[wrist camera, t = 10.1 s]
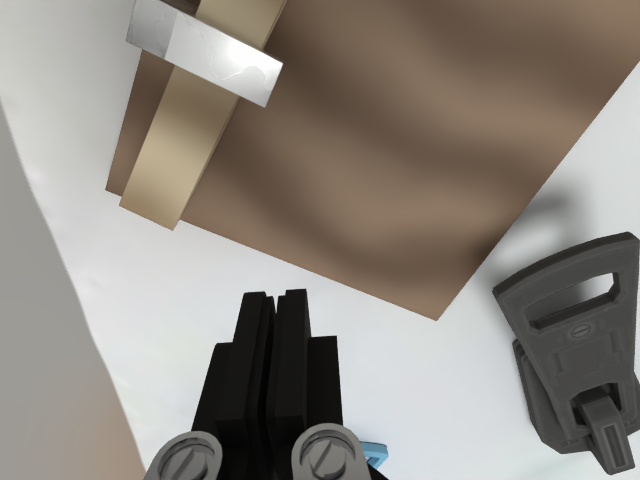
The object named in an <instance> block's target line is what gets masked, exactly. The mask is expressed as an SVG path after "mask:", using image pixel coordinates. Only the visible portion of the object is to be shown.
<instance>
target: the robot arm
mask: <svg viewBox="0 0 640 480" xmlns="http://www.w3.org/2000/svg"><path fill="white" fill-rule="evenodd" d="M277 479H278V480H389V479H387V478H386V477H385V476H384V475H382V474H381V473H380V472H379V471H377V470H376V469H375V468H374V467H372V466H371V465H370V464H369V463H367V462H366V459H365V455H364V452H363V448H362V446H361V443H360V441H359V439H358V438H357V437H356V435H355V434H354V433H353V432H352V431H351V430H349V429H347V428H345V427H344V426H343V417H342V404H341V390H340V376H339V362H338V348H337V336H322V337H311V328H310V319H309V309H308V300H307V291H306V289H294V290H286V293H285V295H283V296H278V303H277V312H276V310H275V304H274V298H273V296H268V297H266V293H265V291H263V292H248V293H244V295H243V299H242V303H241V308H240V312H239V316H238V321H237V325H236V329H235V334H234V338H233V342H228V343H217V344H216V345H215V348H214V350H213V354H212V358H211V361H210V365H209V368H208V372H207V375H206V379H205V383H204V386H203V390H202V393H201V397H200V400H199V404H198V408H197V411H196V415H195V418H194V422H193V425H192V429H191V432H187V433H184V434H181V435H178V436H176V437H175V438H173V439H171V440H170V441H168V442H167V443H166V444H165V445H164V446H163V447H162V448H161V449H160V450H159V451H158V453H157V454H156V456H155V457H154V459H153V461H152V463H151V465H150V467H149V469H148V471H147V473H146V475H145V477H144V479H143V480H277Z"/></svg>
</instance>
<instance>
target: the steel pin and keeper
mask: <svg viewBox="0 0 640 480" xmlns="http://www.w3.org/2000/svg"><path fill="white" fill-rule="evenodd" d="M197 10H198V7H197V6H195V5H193V4H191V3H189V2H187V1H185V0H136V1H135V6H134V10H133V14H132V18H131V22H130V26H129V30H128V34H127V38H126V41H127V42H129V43H131V44H133V45H135V46H137V47H139V48H142V49H144V50H146V51H148V52H150V53H152V54H154V55H156V56H158V57H160V58H162V59H164V60H167V61H169V62H171V63H173V64H175V65H177V66H179V67H181V68H183V69H185V70H187V71H189V72H192V73H194V74H196V75H198V76H200V77H202V78H204V79H206V80H208V81H210V82H212V83H214V84H216V85H219V86H221V87H223V88H225V89H227V90H229V91H231V92H233V93H235V94H237V95H239V96H241V97H244V98H246V99H248V100H250V101H252V102H254V103H256V104H258V105H260V106H262V107H264V108H265V106H266V104H267V102H268V99H269V97H270V95H271V92H272V90H273V87H274V85H275V82H276V80H277V78H278V75H279V73H280V70H281V68H282V66H283V63H284V61H283V60H281V59H279V58H277V57H275V56H273V55H272V54H270V53H268V52H266V51H264V50H262V49H260V48H258V47H256V46H254V45H252V44H250V43H248V42H246V41H244V40H242V39H240V38H238V37H236V36H235V35H233V34H231V33H229V32H227V31H225V30H223V29H221V28H219V27H217V26H215V25H213V24H211V23H209V22H207V21H205V20H203V19H201V18H199V17H198V16H196V12H197Z"/></svg>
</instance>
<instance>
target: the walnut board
mask: <svg viewBox="0 0 640 480" xmlns="http://www.w3.org/2000/svg"><path fill="white" fill-rule="evenodd" d="M185 1H187V2H189V3H191V4H193V5H195V6H197V7H199V5H200V2H201V0H185ZM263 50H264V51H266V52H268V53H270V54H272V55H273V56H275V57H277V58H279V59H281V60H283V61H284V63H283V66H282V68H281V70H280V73H279V75H278V78H277V80H276V82H275V85H274V87H273V90H272V92H271V95H270V97H269V99H268V102H267V104H266V106H265V108H264V107H262V106H260V105H258V104H256V103H254V102H252V101H250V100H248V99H246V98H244V97H241V96H240V98H239V100H238V102H237V104H236V106H235V109H234V111H233V113H232V115H231V117H230V119H229V121H228V123H227V125H226V127H225V129H224V131H223V133H222V135H221V137H220V139H219V141H218V143H217V146H216V148H215V150H214V152H213V154H212V156H211V158H210V160H209V162H208V164H207V166H206V168H205V170H204V172H203V174H202V176H201V178H200V181H199V183H198V185H197V187H196V189H195V191H194V193H193V195H192V197H191V199H190V201H189V203H188V205H187V207H186V209H185V211H184V213H183V215H182V216H181V218H180V220H182V221H185V222H187V223H190V224H192V225H195V226H197V227H200V228H202V229H205V230H207V231H210V232H213V233H215V234H218V235H220V236H223V237H225V238H228V239H230V240H233V241H235V242H238V243H240V244H243V245H245V246H248V247H250V248H253V249H256V250H258V251H261V252H263V253H266V254H268V255H271V256H273V257H276V258H278V259H281V260H283V261H286V262H288V263H291V264H293V265H296V266H299V267H301V268H304V269H306V270H309V271H311V272H314V273H316V274H319V275H321V276H324V277H326V278H329V279H331V280H334V281H336V282H339V283H342V284H344V285H347V286H349V287H352V288H354V289H357V290H359V291H362V292H364V293H367V294H369V295H372V296H374V297H377V298H379V299H382V300H385V301H387V302H390V303H392V304H395V305H397V306H400V307H402V308H405V309H407V310H410V311H412V312H415V313H417V314H420V315H422V316H425V317H428V318H430V319H433V320H435V321H437V320H438V319H439V318H440V316H441V315H442V314H443V313H444V311H445V310H446V309H447V307H448V306H449V305H450V304H451V302H452V301H453V300H454V298H455V297H456V296H457V295H458V293H459V292H460V291H461V289H462V288H463V287H464V286H465V284H466V283H467V282H468V280H469V279H470V278H471V277H472V275H473V274H474V273H475V271H476V270H477V269H478V268H479V266H480V265H481V264H482V262H483V261H484V260H485V259H486V257H487V256H488V255H489V254H490V252H491V251H492V250H493V248H494V247H495V246H496V245H497V243H498V242H499V241H500V239H501V238H502V237H503V236H504V234H505V233H506V232H507V230H508V229H509V228H510V227H511V225H512V224H513V223H514V221H515V220H516V219H517V218H518V216H519V215H520V214H521V212H522V211H523V210H524V209H525V207H526V206H527V205H528V203H529V202H530V201H531V200H532V198H533V197H534V196H535V194H536V193H537V192H538V191H539V189H540V188H541V187H542V186H543V184H544V183H545V182H546V180H547V179H548V178H549V177H550V175H551V174H552V173H553V171H554V170H555V169H556V168H557V166H558V165H559V164H560V162H561V161H562V160H563V159H564V157H565V156H566V155H567V153H568V152H569V151H570V150H571V148H572V147H573V146H574V144H575V143H576V142H577V141H578V139H579V138H580V137H581V135H582V134H583V133H584V132H585V130H586V129H587V128H588V126H589V125H590V124H591V123H592V121H593V120H594V119H595V118H596V116H597V115H598V114H599V112H600V111H601V110H602V109H603V107H604V106H605V105H606V103H607V102H608V101H609V100H610V98H611V97H612V96H613V94H614V93H615V92H616V91H617V89H618V88H619V87H620V85H621V84H622V83H623V82H624V80H625V79H626V78H627V76H628V75H629V74H630V73H631V71H632V70H633V69H634V67H635V66H636V65H637V64H638V62H639V61H640V0H287V2H286V4H285V6H284V8H283V10H282V12H281V14H280V16H279V18H278V20H277V22H276V24H275V26H274V28H273V30H272V32H271V34H270V36H269V39H268V41H267V43H266V45H265V47H264V49H263ZM174 67H175V64H173V63H171V62H169V61H167V60H164V59H162V58H160V57H158V56H156V55H154V54H152V53H150V52H148V51H146V50H144V49H142V53H141V57H140V61H139V64H138V68H137V72H136V76H135V79H134V83H133V87H132V91H131V95H130V98H129V102H128V106H127V110H126V113H125V117H124V121H123V125H122V128H121V132H120V136H119V140H118V144H117V147H116V151H115V155H114V159H113V162H112V166H111V170H110V174H109V177H108V181H107V185H106V189H105V190H106V191H109V192H111V193H114V194H116V195H119V196H121V197H122V196H123V193H124V191H125V188H126V186H127V183H128V181H129V178H130V176H131V173H132V171H133V168H134V166H135V164H136V161H137V159H138V156H139V154H140V151H141V149H142V146H143V144H144V141H145V139H146V136H147V134H148V131H149V129H150V126H151V124H152V121H153V119H154V116H155V114H156V111H157V109H158V107H159V104H160V102H161V99H162V97H163V94H164V92H165V89H166V87H167V84H168V82H169V79H170V77H171V74H172V72H173V69H174Z"/></svg>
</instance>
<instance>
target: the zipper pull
mask: <svg viewBox="0 0 640 480" xmlns="http://www.w3.org/2000/svg"><path fill="white" fill-rule="evenodd" d="M639 252H640V240H639V239H638V238H637V237H636V236H634V235H633V234H632V233H630V232H624V233H619V234H615V235H610V236H606V237H601V238H597V239H594V240H591V241H588V242H585V243H582V244H579V245H576V246H573V247H570V248H568V249H565V250H563V251H561V252H558V253H556V254H553V255H551V256H549V257H546V258H544V259H542V260H540V261H538V262H536V263H534V264H532V265H530V266H528V267H526V268H524V269H522V270H520V271H518V272H517V273H515V274H513V275H512V276H510V277H509V278H507V279H506V280H504V281H503V282H501V283H500V284H498V285H497V286H495V287H494V288H493V291H492V293H493V295H494V297H495V298H496V300H497V302H498V304H499V306H500V308H501V310H502V312H503V313H504V315H505V317H506V319H507V321H508V323H509V325H510V326H511V328H512V330H513V331H514V333H515V335H516V336H517V339H516V340H515V341H514V342H513V349H514V353H515V357H516V361H517V365H518V369H519V373H520V377H521V381H522V385H523V389H524V393H525V397H526V401H527V406H528V410H529V415H530V420H531V422H532V424H533V426H534V428H535V430H536V431H537V433H538V435H539V437H540V439H541V441H542V442H543V443H544V444H546V445H548V446H549V447H551V448H552V449H554V450H555V451H557V452H559V453H560V454H568V453H576V452H583V451H591V452H592V453H593V455H594V456H595V458H596V459H597V461H598V462H599V463H600V465H601V466H602V468H603V469H604V471H605V472H606V473H607V474H609V475H613V474H616V473H620V472H623V471H626V470H630V469H633V468H635V464H634V460H633V456H632V452H631V449H630V445H629V442H628V438H627V436H628V435H630V434H632V433H634V432H636V431H638V430H640V384H639V382H638V379H637V377H636V375H635V373H634V356H635V333H636V310H637V292H638V279H639ZM608 273H613V281H614V284H613V285H612V287H611V288H610V290H609V291H608V292H607V293H604V294H602V295H599V296H597V297H595V298H592V299H590V300H587V301H585V302H582V303H580V304H577V305H575V306H572V307H570V308H567V309H565V310H562V311H559V312H557V313H554V314H552V315H549V316H547V317H544V318H541V319H539V320H536V321H533V322H531V321H528V319H527V316H526V313H525V310H526V308H528V307H529V306H531V305H533V304H534V303H536V302H538V301H540V300H541V299H543V298H545V297H546V296H548V295H551V294H553V293H556V292H558V291H561V290H563V289H566V288H568V287H571V286H573V285H576V284H578V283H581V282H583V281H586V280H588V279H590V278H593V277H596V276H600V275H604V274H608Z"/></svg>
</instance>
